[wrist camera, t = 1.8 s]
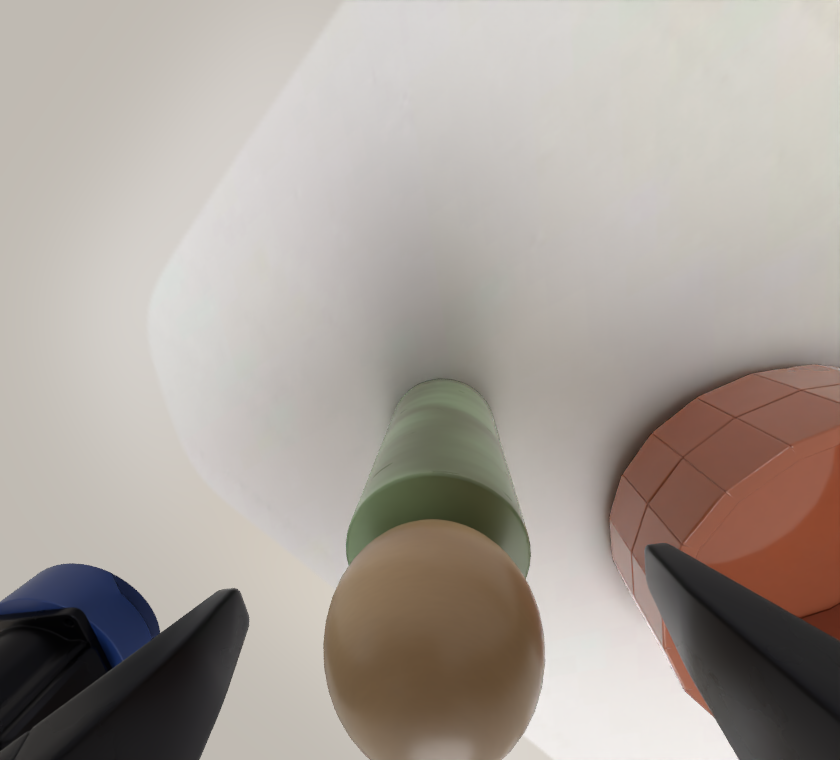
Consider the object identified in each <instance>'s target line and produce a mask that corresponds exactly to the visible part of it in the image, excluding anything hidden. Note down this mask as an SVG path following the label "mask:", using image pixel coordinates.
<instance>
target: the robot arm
mask: <svg viewBox="0 0 840 760" xmlns="http://www.w3.org/2000/svg"><path fill="white" fill-rule="evenodd" d="M644 553H645V573H646V582H647V586H648V588H649V591H650V593H651V595H652V597H653V600H654V602H655V604H656V606H657V608H658V610H659V612H660V614H661V617H662V619H663V621H664V623H665V625H666V627H667V629H668V631H669V634H670V636H671V638H672V640H673V642H674V644H675V646H676V648H677V651H678V653H679V655H680V657H681V659H682V661H683V663H684V665H685V667H686V669H687V671H688V673H689V675H690V676H691V678H692V680H693V682H694V684H695V685H696V687H697V689H698V691H699V692H700V694H701V696H702V697H703V699H704V701H705V702H706V704H707V706H708V708H709V709H710V711H711V713H712V714H713V716H714V718H715V719H716V721H717V723H718V724H719V726H720V728H721V730H722V731H723V733H724V735H725V736H726V738H727V740H728V741H729V743H730V745H731V747H732V748H733V750H734V752H735V753H736V755H737V757H738V758H739V760H840V640H838V639H836V638H834V637H833V636H831V635H829V634H827V633H826V632H824V631H822V630H820V629H818V628H817V627H815V626H813V625H811V624H810V623H808V622H806V621H804V620H803V619H801V618H799V617H797V616H795V615H794V614H792V613H790V612H788V611H787V610H785V609H783V608H781V607H780V606H778V605H776V604H774V603H773V602H771V601H769V600H767V599H765V598H764V597H762V596H760V595H758V594H757V593H755V592H753V591H751V590H750V589H748V588H746V587H744V586H743V585H741V584H739V583H737V582H735V581H734V580H732V579H730V578H728V577H727V576H725V575H723V574H721V573H720V572H718V571H716V570H714V569H712V568H711V567H709V566H707V565H705V564H704V563H702V562H700V561H698V560H697V559H695V558H693V557H691V556H690V555H688V554H686V553H684V552H682V551H681V550H679V549H677V548H675V547H674V546H672V545H670V544H668V543H658V544H649V545H647V546H646V547H645V551H644ZM248 627H249V615H248V612H247V609H246V606H245V604H244V601H243V598H242V596H241V593H240V591H238V589H235V588H231V589H223V590H219V591H217V592H216V593H214V594H213V595H212V596H210V597H209V598H208V599H206V600H205V601H203V602H202V603H201V604H199V605H198V606H197V607H195V608H194V609H193V610H191V611H190V612H189V613H187V614H186V615H185V616H183V617H182V618H180V619H179V620H178V621H176V622H175V623H174V624H172V625H171V626H170V627H168V628H167V629H166V630H164V631H163V632H161V633H160V634H159V635H157V636H156V637H155V638H153V639H152V640H151V641H149V642H148V643H147V644H145V645H144V646H142V647H141V648H140V649H138V650H137V651H136V652H134V653H133V654H132V655H130V656H129V657H128V658H126V659H125V660H124V661H122V662H121V663H119V664H118V665H117V666H115V667H114V668H113V669H112V667H111V665H110V663H109V661H108V659H107V657H106V655H105V653H104V651H103V649H102V647H101V645H100V643H99V641H98V639H97V637H96V635H95V633H94V631H93V629H92V627H91V625H90V623H89V621H88V619H87V617H86V615H85V614H84V612H83V611H82V610H80V609H78V608H74V607H71V608H61V609H52V610H42V611H33V612H23V613H14V614H4V615H0V760H199V759H200V757H201V755H202V752H203V750H204V748H205V745H206V743H207V740H208V738H209V736H210V733H211V731H212V729H213V726H214V724H215V722H216V719H217V717H218V714H219V712H220V709H221V707H222V704H223V702H224V699H225V696H226V693H227V691H228V688H229V685H230V682H231V678H232V675H233V672H234V670H235V666H236V664H237V660H238V657H239V654H240V651H241V649H242V645H243V642H244V640H245V637H246V633H247V630H248Z"/></svg>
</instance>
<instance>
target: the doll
mask: <svg viewBox="0 0 840 760" xmlns="http://www.w3.org/2000/svg"><path fill="white" fill-rule="evenodd" d="M346 555H347V560H348V565H349V567H348V568H347V570H346V571H345V573H344V574H343V576H342V577H341V579H340V582H339V584H338V586H337V588H336V591H335V593H334V595H333V598H332V601H331V604H330V608H329V612H328V615H327V620H326V626H325V635H324V668H325V674H326V680H327V685H328V689H329V693H330V696H331V699H332V702H333V705H334V708H335V710H336V713H337V715H338V717H339V719H340V721H341V723H342V725H343V726H344V728H345V730H346V732H347V733H348V735H349V736H350V738H351V739H352V740H353V742H354V743H355V744H356V745H357V746H358V748H359V749H360V750H361V751H362V752H363V753H364V754H365V755H366V756H367V757H368V758H369V759H370V760H502V759H503V758H504V757H505V756H506V755H507V754H508V753H509V752H510V751H511V750H512V749H513V747H514V746H515V745H516V743H517V742H518V740H519V739H520V738H521V736H522V735H523V734H524V732H525V730H526V728H527V726H528V724H529V722H530V720H531V718H532V716H533V714H534V712H535V709H536V706H537V703H538V699H539V696H540V692H541V689H542V683H543V674H544V666H545V646H544V633H543V628H542V622H541V618H540V613H539V610H538V607H537V604H536V601H535V599H534V596H533V594H532V591H531V589H530V587H529V585H528V583H527V581H526V577H527V574H528V570H529V566H530V557H531V552H530V542H529V537H528V533H527V530H526V526H525V523H524V520H523V516H522V513H521V510H520V506H519V503H518V500H517V496H516V493H515V489H514V486H513V483H512V479H511V476H510V473H509V469H508V466H507V463H506V459H505V456H504V452H503V449H502V446H501V442H500V439H499V436H498V432H497V429H496V426H495V422H494V419H493V415H492V413H491V410H490V408H489V406H488V404H487V402H486V401H485V400H484V398H483V397H482V396H481V395H480V394H479V393H478V392H477V391H476V390H474V389H473V388H472V387H470V386H468V385H466V384H464V383H462V382H459V381H455V380H450V379H435V380H430V381H426V382H423V383H420V384H419V385H417V386H415V387H413V388H412V389H410V390H409V391H408V392H407V393H406V394H405V395H404V396H403V397H402V398H401V400H400V401H399V403H398V404H397V406H396V409H395V411H394V413H393V416H392V418H391V421H390V424H389V426H388V429H387V431H386V434H385V436H384V439H383V441H382V444H381V446H380V449H379V451H378V454H377V456H376V459H375V462H374V464H373V467H372V469H371V472H370V474H369V477H368V479H367V482H366V484H365V487H364V489H363V492H362V494H361V497H360V500H359V502H358V505H357V507H356V510H355V512H354V515H353V517H352V520H351V522H350V525H349V529H348V533H347V539H346Z"/></svg>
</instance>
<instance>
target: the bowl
mask: <svg viewBox="0 0 840 760" xmlns="http://www.w3.org/2000/svg"><path fill="white" fill-rule="evenodd" d="M609 517H610V518H609V522H610V536H611V549H612V558H613V561H614V563H615V565H616V567H617V569H618V571H619V573H620V575H621V577H622V579H623V581H624V583H625V585H626V587H627V589H628V591H629V593H630V595H631V596H632V598H633V600H634V602H635V604H636V605H637V607H638V609H639V611H640V613H641V614H642V616H643V618H644V620H645V621H646V623H647V625H648V627H649V629H650V630H651V632H652V634H653V636H654V638H655V639H656V641H657V643H658V645H659V647H660V648H661V650H662V652H663V654H664V656H665V657H666V659H667V661H668V663H669V664H670V666H671V668H672V670H673V672H674V673H675V675H676V677H677V679H678V681H679V682H680V684H681V686H682V688H683V689H684V690H685V692H686V693H687V694H689V695H690V696H691V697H692V698H693V699H694V700H695V701H696V702H697V703H699V704H700V705H701V706H702V707H703V708H704V709H705V710H706V711H708V712H709V713H710V714H711V715H712V716H713V714H712V713H711V711H710V709H709V708H708V706H707V704H706V702H705V701H704V699H703V697H702V696H701V694H700V692H699V691H698V689H697V687H696V685H695V684H694V682H693V680H692V678H691V676H690V675H689V673H688V671H687V669H686V667H685V665H684V663H683V661H682V659H681V657H680V655H679V653H678V651H677V648H676V646H675V644H674V642H673V640H672V638H671V636H670V634H669V631H668V629H667V627H666V625H665V623H664V621H663V619H662V617H661V614H660V612H659V610H658V608H657V606H656V604H655V602H654V600H653V597H652V595H651V593H650V591H649V588H648V586H647V582H646V573H645V553H644V551H645V547H646V546H647V545H649V544H658V543H668V544H670V545H672V546H674V547H675V548H677V549H679V550H681V551H682V552H684V553H686V554H688V555H690V556H691V557H693V558H695V559H697V560H698V561H700V562H702V563H704V564H705V565H707V566H709V567H711V568H712V569H714V570H716V571H718V572H720V573H721V574H723V575H725V576H727V577H728V578H730V579H732V580H734V581H735V582H737V583H739V584H741V585H743V586H744V587H746V588H748V589H750V590H751V591H753V592H755V593H757V594H758V595H760V596H762V597H764V598H765V599H767V600H769V601H771V602H773V603H774V604H776V605H778V606H780V607H781V608H783V609H785V610H787V611H788V612H790V613H792V614H794V615H795V616H797V617H799V618H801V619H803V620H804V621H806V622H808V623H810V624H811V625H813V626H815V627H817V628H818V629H820V630H822V631H824V632H826V633H827V634H829V635H831V636H833V637H834V638H836V639H838V640H840V368H839V367H832V366H825V365H817V364H815V365H812V364H810V365H803V366H797V367H790V368H783V369H777V370H770V371H763V372H757V373H753V374H749V375H746V376H744V377H742V378H739V379H737V380H735V381H733V382H730V383H728V384H726V385H723V386H721V387H719V388H716V389H714V390H712V391H710V392H707V393H705V394H703V395H700V396H698V397H697V398H696V399H694V400H692V401H691V402H690V403H689V404H687V405H686V406H685V407H684V408H682V409H681V410H680V411H678V412H677V413H676V414H675V415H673V416H672V417H671V418H670V419H668V420H667V421H666V422H665V423H663V424H662V425H661V426H660V427H658V428H657V429H656V430H654V431H653V434H650V436H649V437H648V439H647V440H646V441H645V443H644V444H643V446H642V447H641V448H640V450H639V451H638V453H637V454H636V456H635V457H634V458H633V460H632V461H631V463H630V464H629V465H628V467H627V468H626V470H625V471H624V472H623V474H622V476H621V479H620V482H619V485H618V489H617V492H616V495H615V499H614V502H613V505H612V509H611V512H610V515H609ZM713 717H714V716H713Z"/></svg>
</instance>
